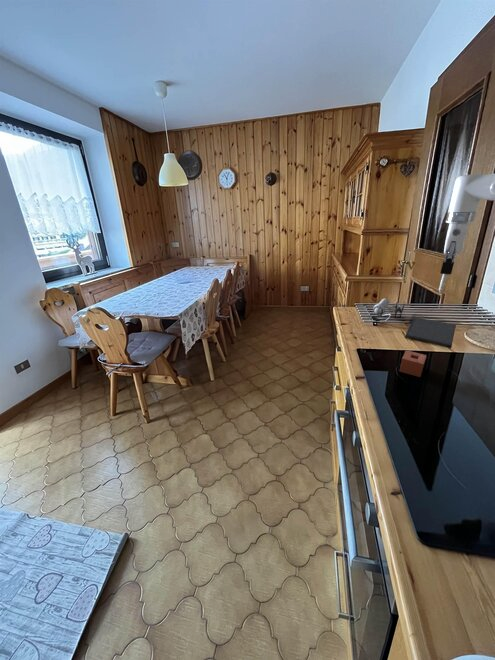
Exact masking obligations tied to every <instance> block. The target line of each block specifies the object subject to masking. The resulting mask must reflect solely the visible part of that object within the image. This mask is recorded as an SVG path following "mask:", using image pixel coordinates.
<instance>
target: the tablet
mask: <svg viewBox="0 0 495 660" xmlns="http://www.w3.org/2000/svg"><path fill="white" fill-rule="evenodd" d="M456 326H457V324H456V323H455V324H454V323H449V322H443V321H437V320H433V319H426V318H422V317H415V316H414V317H413V319H412V321H411V323H410V324H409V327H408V329H407V330H406V333H405V334H404V338H405V339H408V340H414V341H418V342H423V343H427V344H431V345H436V346H441V347H444V348H445V347H446V348H450V349H452V346H453V342H454V336H455V331H456Z"/></svg>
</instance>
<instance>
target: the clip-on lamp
mask: <svg viewBox="0 0 495 660" xmlns="http://www.w3.org/2000/svg"><path fill="white" fill-rule="evenodd" d="M389 304H390V300H389V299H388V298H382V299H381V300H380V301H379V303H376V304H375V305H374V306H373V309H372V311H373V312H374V314H375V315H377V316H382V317H384V316H388V318H387V319H385V320H383V321H382V323H385V322H386V321H387V320H389V319H390V318H391V316H392V315H391V313H392V312H393V311H394V312H395V313H394V318H397V314H398V312H399V318H402V314H403V311H404V308H405V306H406V305H405V304H406V303H405V302H404V303H403V304H399V303H398V302H396V303H395V305H392V307H390V306H389ZM386 309H387V310H388V312H387V313H385V312H386ZM390 312H391V313H390ZM369 317H370V318H371V319H372V320H373V321H375V322H377V321H381V319H379V318H377V317H375V316H373V315H372V316H369Z"/></svg>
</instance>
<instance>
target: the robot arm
mask: <svg viewBox="0 0 495 660" xmlns="http://www.w3.org/2000/svg"><path fill="white" fill-rule="evenodd" d="M481 200H484V201H494V202H495V173H489V174H481V173H476V174H475V173H474V174H463V175H460V176H458V177H457V178H456V179H455V181H454V186H453V190H452V194H451V198H450V203H449V206H448V211H447V213H446V218H445V223H446V224H448V227H447V232H446V237H445V241H444V249H443V254H444V255H445V256H444V260H443V261H442V264H441V268H440V274H441V275H443V274H447V275H452V272H453V270H454V266H455V265H454V264H455V258H456V255H458V256H460V255H461V254H462V253H463V249H464V246H465V241H466V238H467V234H468V230H469V226H470V224H473V223H474V222H475V218H476V214H477V211H478V209H479V206H480V205H479V204H480V201H481Z"/></svg>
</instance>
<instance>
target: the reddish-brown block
mask: <svg viewBox="0 0 495 660" xmlns="http://www.w3.org/2000/svg"><path fill="white" fill-rule="evenodd" d="M426 360H427V354H423V353H419V352H414V351H413V350H412V351H411V350H407V349H406V350H405V351H404V353H403V356H402V358H401V363H400V367H399V371H398V372H400V373H403V374H407V375H411V376H415V377H418V378H421V377H422V373H423V371H424V367H425V364H426Z"/></svg>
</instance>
